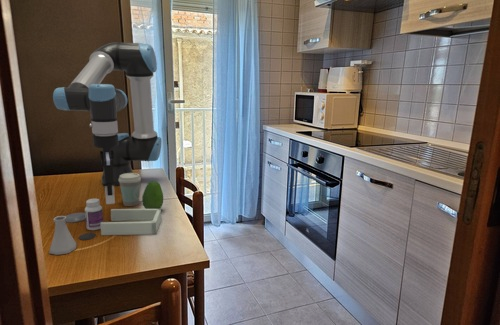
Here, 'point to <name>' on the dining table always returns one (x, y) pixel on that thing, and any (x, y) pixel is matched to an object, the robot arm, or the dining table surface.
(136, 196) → the coffee cup
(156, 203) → the fruit
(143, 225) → the frame
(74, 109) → the robot arm
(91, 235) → the hole pad
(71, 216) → the coaster
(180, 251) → the dining table surface
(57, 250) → the flask
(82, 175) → the dining table surface
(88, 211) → the pill bottle
